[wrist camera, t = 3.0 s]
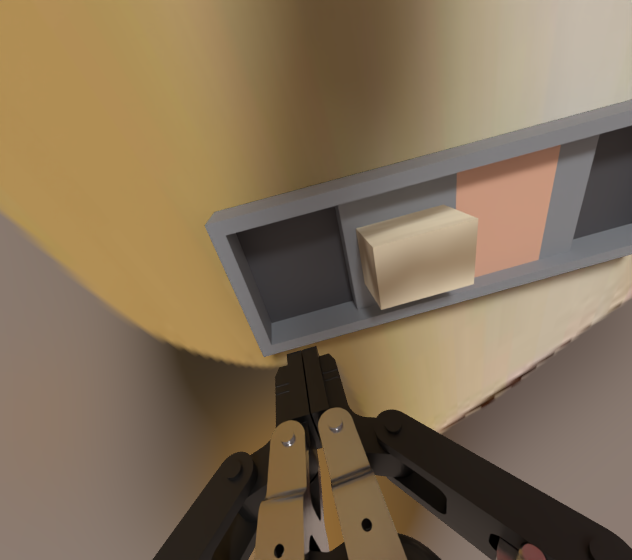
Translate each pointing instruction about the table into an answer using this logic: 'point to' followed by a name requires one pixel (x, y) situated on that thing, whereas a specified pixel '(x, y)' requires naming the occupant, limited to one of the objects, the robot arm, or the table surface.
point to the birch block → (418, 255)
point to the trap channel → (423, 193)
